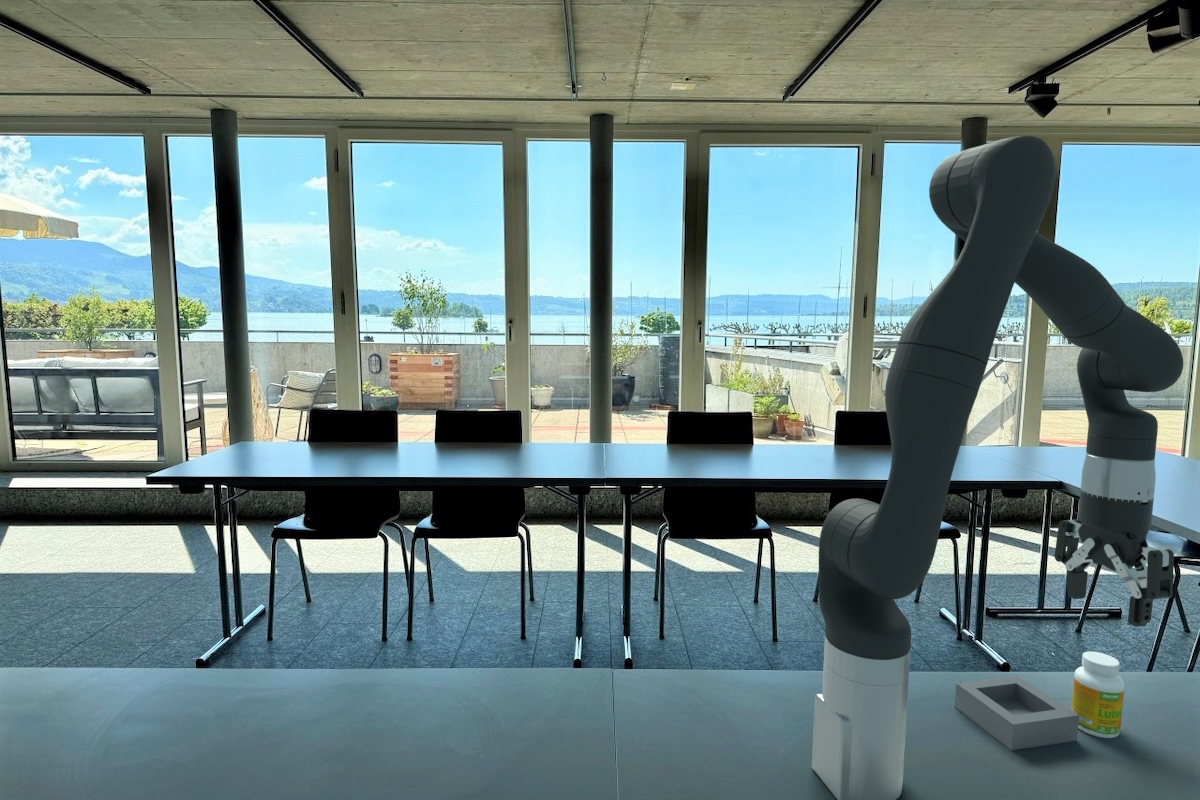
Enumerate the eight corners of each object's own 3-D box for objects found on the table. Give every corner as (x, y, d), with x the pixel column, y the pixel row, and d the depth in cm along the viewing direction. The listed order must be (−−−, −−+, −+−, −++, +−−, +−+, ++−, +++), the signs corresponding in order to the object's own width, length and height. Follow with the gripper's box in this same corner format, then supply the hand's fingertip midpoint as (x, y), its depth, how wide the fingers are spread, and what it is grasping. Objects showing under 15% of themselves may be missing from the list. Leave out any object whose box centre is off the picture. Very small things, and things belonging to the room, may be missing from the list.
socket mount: (1011, 750, 86) (1013, 724, 85) (954, 706, 96) (956, 683, 95) (1076, 740, 88) (1079, 715, 87) (1014, 698, 98) (1016, 675, 97)
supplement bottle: (1098, 742, 88) (1105, 671, 86) (1060, 718, 93) (1066, 651, 92) (1130, 735, 89) (1137, 665, 88) (1090, 713, 94) (1097, 646, 93)
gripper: (1045, 479, 93) (1036, 592, 95) (1147, 506, 79) (1135, 638, 81) (1090, 476, 95) (1080, 587, 97) (1198, 503, 81) (1185, 632, 83)
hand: (1105, 610), depth 89 cm, fingers open, 8 cm apart
